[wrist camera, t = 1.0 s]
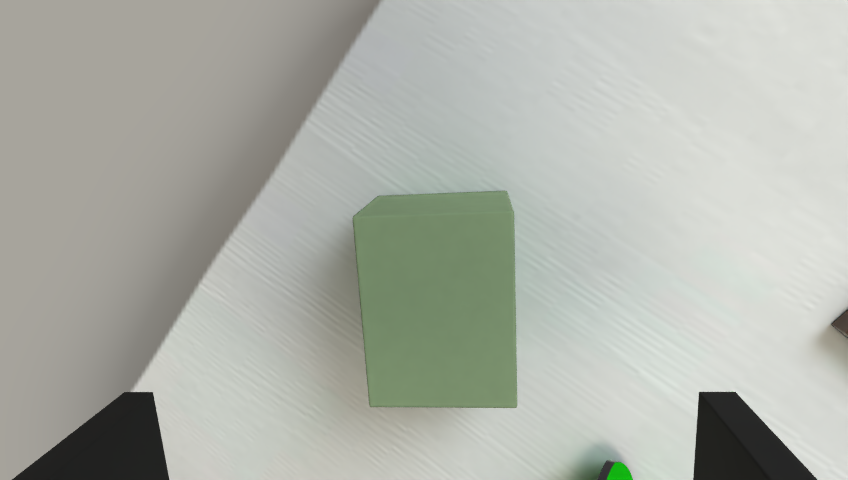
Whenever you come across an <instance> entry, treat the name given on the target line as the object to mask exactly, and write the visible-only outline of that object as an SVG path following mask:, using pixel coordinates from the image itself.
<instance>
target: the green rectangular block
mask: <svg viewBox="0 0 848 480" xmlns="http://www.w3.org/2000/svg"><path fill="white" fill-rule="evenodd" d="M353 227H354V238H355V249H356V260H357V272H358V283H359V294H360V305H361V316H362V327H363V339H364V350H365V361H366V372H367V383H368V394H369V405H370V407H460V408H516V407H517V364H516V304H515V244H514V211H513V208H512V205H511V202H510V199H509V196H508V193H507V191H489V192H464V193H439V194H415V195H390V196H378V197H376V198H375V199H374V200H373V201H372V202H370V203H369V204H368V205H367V206H366V207H364V208H363V209H362V210H361V211H360V212H358V213H357V214H356V215H355V216H353Z"/></svg>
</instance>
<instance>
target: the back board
mask: <svg viewBox="0 0 848 480" xmlns="http://www.w3.org/2000/svg"><path fill="white" fill-rule="evenodd" d="M832 325H833V326H834V327H835V328H836V329H837V330H839V331H840V332H841V333H842V334H843V335H845V336H846V337H847V338H848V310H847V311H846V312H845V313H844V314H843V315H842V316H840V317H839V318H838V319H837V320H836V321H835V322H834V323H833V324H832Z"/></svg>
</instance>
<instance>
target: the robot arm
mask: <svg viewBox="0 0 848 480" xmlns="http://www.w3.org/2000/svg"><path fill="white" fill-rule="evenodd" d="M12 480H169V476H168V470H167V465H166V460H165V454H164V449H163V444H162V439H161V433H160V428H159V423H158V417H157V412H156V407H155V401H154V396H153V392H124V393H123V394H122V395H120V396H119V397H118V398H117V399H115V400H114V401H113V402H111V403H110V404H109V405H107V406H106V407H105V408H104V409H102V410H101V411H100V412H99V413H97V414H96V415H95V416H93V417H92V418H91V419H89V420H88V421H87V422H86V423H84V424H83V425H82V426H80V427H79V428H78V429H77V430H75V431H74V432H73V433H71V434H70V435H69V436H68V437H67V438H65V439H64V440H62V441H61V442H60V443H59V444H57V445H56V446H55V447H53V448H52V449H51V450H50V451H48V452H47V453H46V454H44V455H43V456H42V457H41V458H39V459H38V460H37V461H35V462H34V463H33V464H32V465H30V466H29V467H28V468H26V469H25V470H24V471H23V472H21V473H20V474H19V475H17V476H16V477H15V478H14V479H12ZM693 480H817V479H816V478H815V477H814V476H813V475H812V473H811V472H810V471H809V470H808V469H807V468H806V467H805V466H804V465H803V464H802V463H801V462H800V461H799V460H798V458H797V457H796V456H795V455H794V454H793V453H792V452H791V451H790V450H789V449H788V448H787V447H786V446H785V445H784V444H783V442H782V441H781V440H780V439H779V438H778V437H777V436H776V435H775V434H774V433H773V432H772V431H771V430H770V429H769V428H768V426H767V425H766V424H765V423H764V422H763V421H762V420H761V419H760V418H759V417H758V416H757V415H756V414H755V413H754V411H753V410H752V409H751V408H750V407H749V406H748V405H747V404H746V403H745V402H744V401H743V400H742V399H741V398H740V397H739V395H738V394H737V393H736V392H699V402H698V418H697V433H696V448H695V463H694V478H693Z"/></svg>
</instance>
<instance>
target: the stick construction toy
mask: <svg viewBox="0 0 848 480" xmlns="http://www.w3.org/2000/svg"><path fill="white" fill-rule="evenodd" d="M598 480H633V479H632V476H631V473H630V471H629V469H628V468H627V467H626V466H625V465H624V464H623V463H621V462H617V461H613V460H607V461H606V463H605V464H604V466H603V468H602V470H601V473H600V475H599V478H598Z"/></svg>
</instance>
